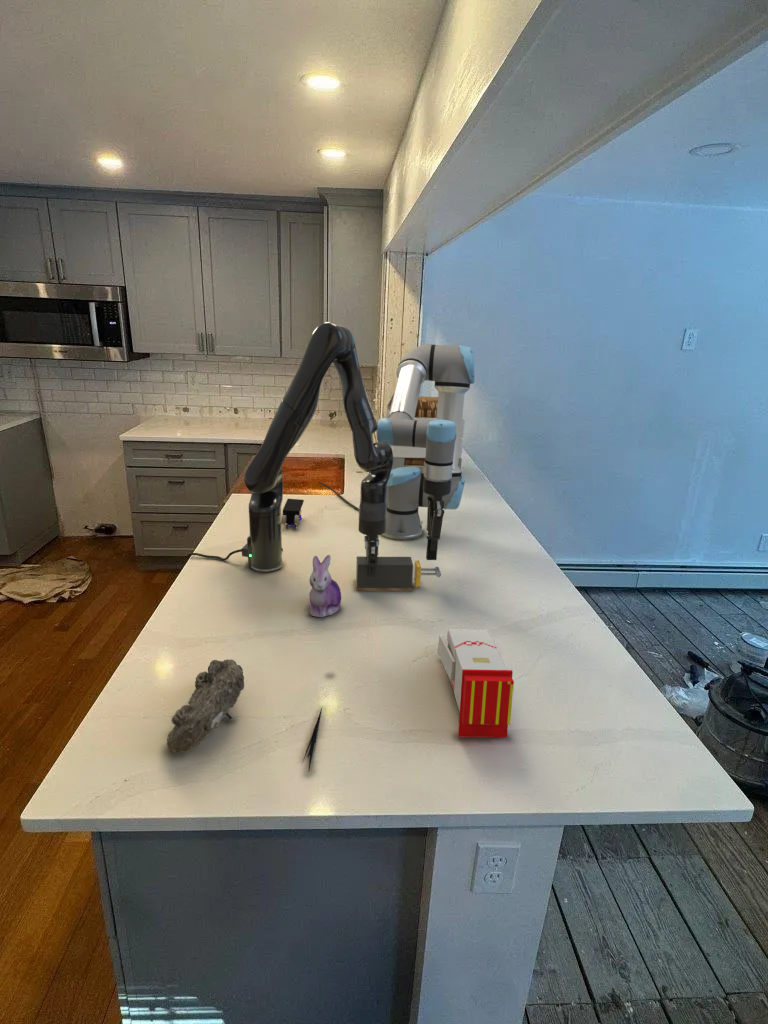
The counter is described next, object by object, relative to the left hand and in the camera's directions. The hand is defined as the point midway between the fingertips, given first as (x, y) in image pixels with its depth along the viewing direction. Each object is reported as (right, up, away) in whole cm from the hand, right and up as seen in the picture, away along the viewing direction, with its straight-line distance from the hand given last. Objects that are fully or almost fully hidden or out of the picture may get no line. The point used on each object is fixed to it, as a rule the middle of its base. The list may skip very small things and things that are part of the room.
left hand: (370, 571), depth 160 cm
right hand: (+17, +3, 0) cm, 17 cm away
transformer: (+21, +35, +115) cm, 122 cm away
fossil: (-29, -22, -52) cm, 64 cm away
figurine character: (-29, +12, +44) cm, 54 cm away
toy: (+22, -21, -41) cm, 51 cm away
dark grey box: (+4, -4, +2) cm, 6 cm away
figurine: (-12, -9, -12) cm, 19 cm away
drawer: (+10, -4, +2) cm, 10 cm away
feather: (-9, -23, -51) cm, 57 cm away
